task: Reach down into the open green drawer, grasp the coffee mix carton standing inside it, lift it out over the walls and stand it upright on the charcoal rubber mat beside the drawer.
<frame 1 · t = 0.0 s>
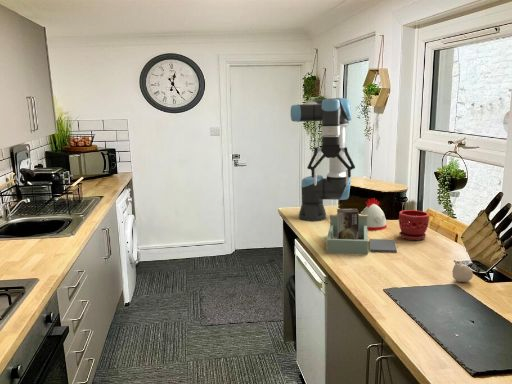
hand: (331, 185, 198), 28 cm above the worktop, tool pointing down, fingers open, 13 cm apart
garlic bulb: (462, 282, 160), on the worktop
rubber mat: (382, 246, 200), on the worktop
coffee box: (347, 245, 205), resting in green drawer
green drawer: (347, 244, 205), on the worktop
plant pot: (413, 237, 211), on the worktop
kitchen timer: (372, 227, 232), on the worktop
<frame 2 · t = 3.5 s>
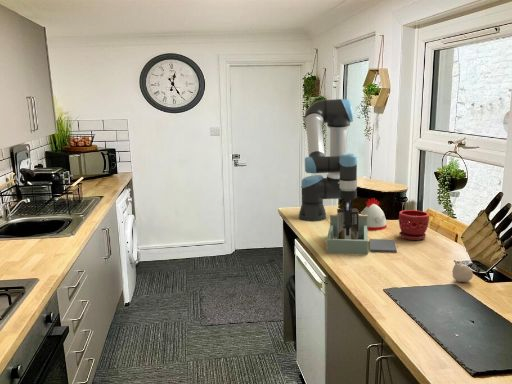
hand: (347, 239, 204), 3 cm above the worktop, tool pointing down, fingers closed on coffee box, 7 cm apart
coffee box: (347, 245, 205), resting in green drawer, touching gripper
everything else where it was.
when the fingers open (5 cm above the worktop, at t = 10.0 s): coffee box drops 1 cm, resting on rubber mat.
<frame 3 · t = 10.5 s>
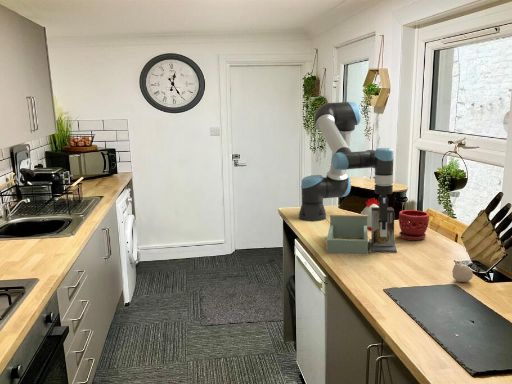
hand: (382, 232, 199), 7 cm above the worktop, tool pointing down, fingers open, 13 cm apart
coffee box: (382, 244, 200), point 1 cm above the worktop, touching rubber mat
everything else where it was.
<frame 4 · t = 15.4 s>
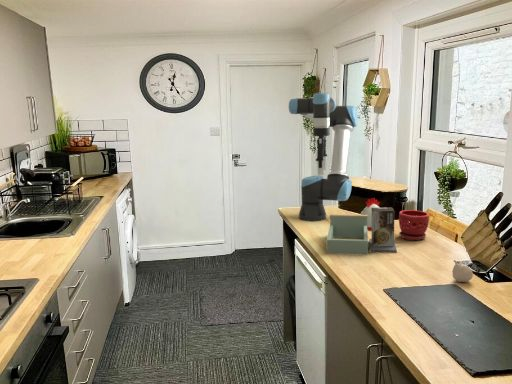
hand: (321, 172, 215), 31 cm above the worktop, tool pointing down, fingers open, 13 cm apart
nothing on the worktop moved.
at the end: coffee box inside the target area (0.1 cm from its centre), point 0.8 cm above the worktop; coffee box tilted 0°; the gripper is holding nothing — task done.
